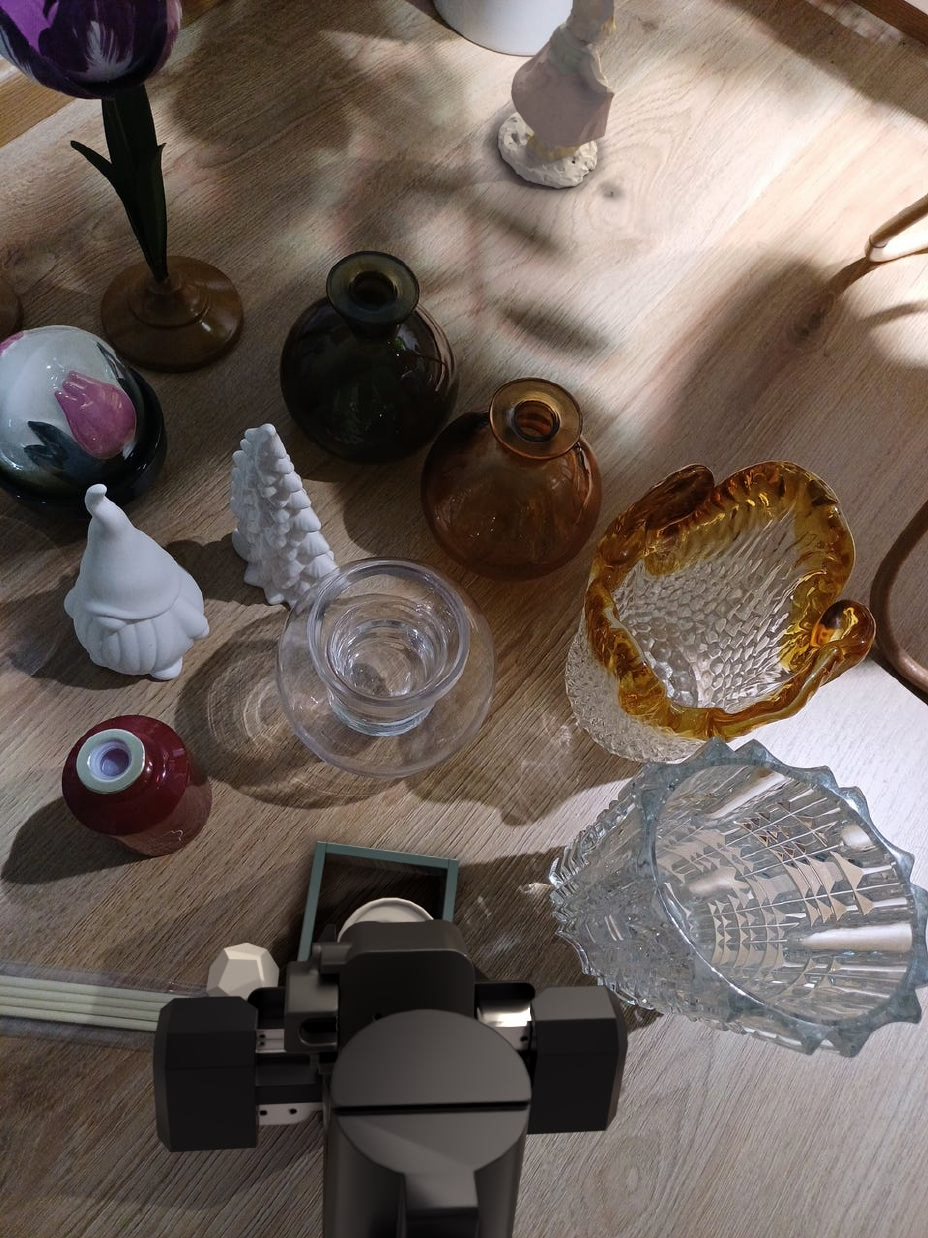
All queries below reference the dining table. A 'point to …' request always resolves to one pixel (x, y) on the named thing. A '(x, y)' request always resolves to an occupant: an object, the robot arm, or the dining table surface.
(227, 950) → the polyhedron
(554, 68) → the figurine
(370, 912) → the beverage can
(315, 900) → the bottomless rectangular frame
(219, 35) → the dining table surface
